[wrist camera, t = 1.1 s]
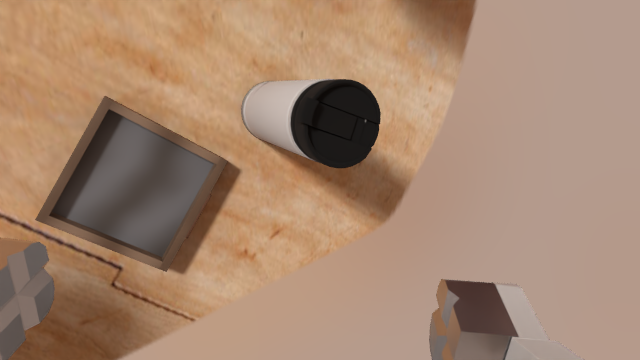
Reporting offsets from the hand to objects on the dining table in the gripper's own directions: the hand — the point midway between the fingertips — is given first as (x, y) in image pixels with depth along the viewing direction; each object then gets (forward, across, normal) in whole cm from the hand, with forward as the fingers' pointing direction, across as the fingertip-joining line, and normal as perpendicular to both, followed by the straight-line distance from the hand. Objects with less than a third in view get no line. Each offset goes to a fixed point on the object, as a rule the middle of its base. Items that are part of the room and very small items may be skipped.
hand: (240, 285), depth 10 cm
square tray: (+34, +18, +15) cm, 41 cm away
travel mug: (+41, +6, +8) cm, 42 cm away
